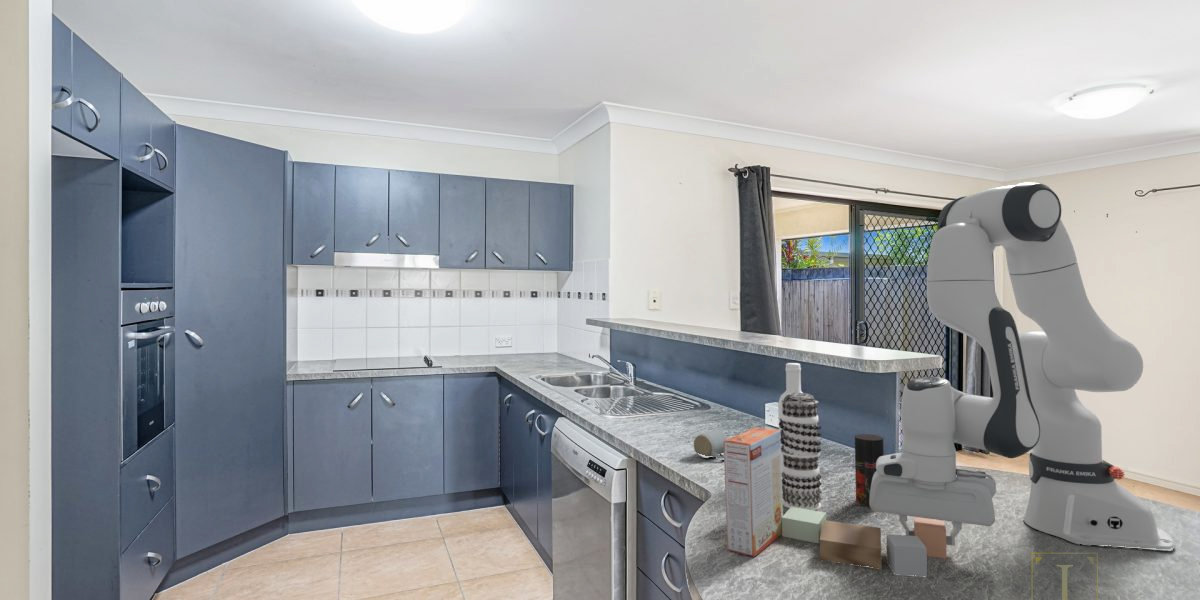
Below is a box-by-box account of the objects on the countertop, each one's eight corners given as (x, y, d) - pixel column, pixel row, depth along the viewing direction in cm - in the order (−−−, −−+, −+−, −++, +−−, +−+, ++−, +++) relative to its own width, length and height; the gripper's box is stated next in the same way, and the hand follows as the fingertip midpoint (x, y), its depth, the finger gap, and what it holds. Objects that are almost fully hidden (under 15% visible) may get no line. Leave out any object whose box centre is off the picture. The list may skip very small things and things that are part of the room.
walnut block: (880, 548, 112) (880, 527, 112) (881, 571, 103) (881, 548, 103) (824, 540, 116) (823, 520, 116) (820, 561, 107) (819, 539, 107)
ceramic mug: (691, 456, 178) (691, 431, 177) (709, 451, 183) (709, 426, 183) (719, 464, 169) (719, 437, 169) (737, 459, 175) (737, 433, 174)
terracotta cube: (944, 547, 111) (944, 521, 111) (946, 558, 106) (946, 530, 106) (914, 543, 113) (913, 517, 113) (915, 553, 109) (914, 526, 109)
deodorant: (887, 508, 132) (886, 440, 132) (859, 506, 133) (857, 439, 133) (880, 499, 138) (879, 434, 138) (853, 498, 139) (852, 433, 139)
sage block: (826, 532, 120) (826, 512, 120) (818, 544, 114) (818, 524, 114) (791, 525, 124) (791, 506, 124) (782, 537, 118) (781, 517, 118)
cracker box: (756, 527, 123) (754, 425, 123) (784, 534, 119) (782, 429, 119) (724, 550, 112) (722, 439, 112) (754, 558, 108) (752, 443, 108)
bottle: (818, 482, 151) (816, 364, 151) (793, 486, 148) (791, 366, 148) (797, 473, 158) (795, 361, 158) (772, 477, 156) (770, 363, 155)
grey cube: (917, 564, 105) (917, 536, 105) (926, 577, 100) (926, 547, 100) (886, 562, 106) (886, 534, 106) (894, 575, 101) (894, 545, 101)
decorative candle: (772, 505, 135) (770, 395, 135) (792, 494, 142) (790, 390, 142) (811, 514, 129) (809, 399, 129) (829, 503, 135) (827, 394, 135)
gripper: (993, 468, 108) (994, 544, 108) (869, 456, 117) (870, 526, 117) (998, 477, 102) (999, 558, 102) (867, 464, 112) (869, 538, 112)
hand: (929, 541), depth 110 cm, fingers closed on terracotta cube, 5 cm apart
